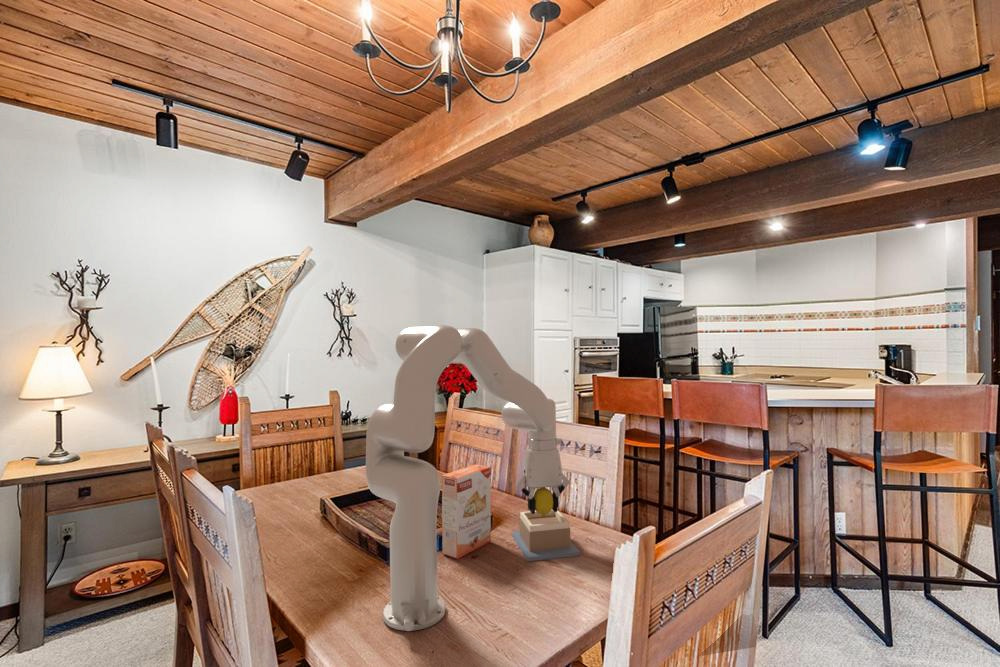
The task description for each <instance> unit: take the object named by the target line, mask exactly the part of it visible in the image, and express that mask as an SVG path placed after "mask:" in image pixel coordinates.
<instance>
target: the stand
mask: <svg viewBox="0 0 1000 667" xmlns="http://www.w3.org/2000/svg"><path fill="white" fill-rule="evenodd" d="M519 516H520V517H519V530H515V531H512V532H511V535H513V536H512V538H513V539H514V541H515V542H516V544H517V546H518V548H519V549H520V551H521V553H522V555H523V557H524V558H525V561H527V562H535V561H542V560H543V561H544V560H551V559H561V558H570V557H578V556H579V557H580V556H581V551H580V550H579V548H578V547H576V545H575V544H574V543H573V542H572V540H571V527H570V522H569V521H568V520H567V519H566V518H565V516H564V515H563V513H561V512H560V511H559V510H558V509H557V512H554V511H553V510H551V511H550V512H549V513H548V514H546V515H545V516H542V515H541V514H539V513H538V512H536V510H535V513H534V514H532V513H531V512H530V510H527V511H520V512H519Z"/></svg>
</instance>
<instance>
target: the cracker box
mask: <svg viewBox="0 0 1000 667" xmlns="http://www.w3.org/2000/svg"><path fill="white" fill-rule="evenodd" d="M491 476H492V475H491V467H489V466H486V465H480V464H473V465H469V466H467V467H463V468H461V469H460V468H459V469H457V470H454V471H451V472H448V473H445V474H442V475H441V496H442V497H441V508H442V510H441V517H442V518H441V519H442V520H441V521H442V523H441V525H442V526H441V527H442V528H441V530H442V531H441V532H442V533H441V534H442V539H441V540H442V542H441V544H442V548H441V549H442V553H441V554H442V555H444V556H448V557H451V558H454V559H456V560H459V559H460V558H462V557H464V556H466V555H468V554H470V553H472V552H473V551H475V550H477V549H479V548H482V547H483V546H485V545H487V544H489V543H490V542H491V541H492V534H491V529H492V528H491V526H492V524H491V523H492V522H491V519H492V518H491V517H492V516H491V512H492V511H491V508H492V505H491V504H492V503H491V494H492V493H491V488H492V487H491V486H492V485H491Z"/></svg>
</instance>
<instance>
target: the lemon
mask: <svg viewBox="0 0 1000 667" xmlns="http://www.w3.org/2000/svg"><path fill="white" fill-rule="evenodd" d="M552 494H553V492H551V489H548V487H545V488H536V489H535V492H534V495H533V498H534V499H535V511H536V512H538V513H539V514H541V515H542V516H545V515H546V514H548V513H549V512H550V511H551V510H552V508H553V496H552Z"/></svg>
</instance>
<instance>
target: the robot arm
mask: <svg viewBox="0 0 1000 667" xmlns="http://www.w3.org/2000/svg"><path fill="white" fill-rule="evenodd" d="M395 350H396V354H397V355H398V357H399V358H400V359H401V360H402V361H403V362H402V363H401V365H400V367H399V368H398V370H397V372H396V373H397V374H396V377H395V380H394V391H393V402H390V403H385V404H382V405H380V406H379V407H377V408H376V409H375V410H374V411H373V413H372V414H371V416H370V417H369V420H368V423H367V427H366V436H365V437H366V438H365V440H366V441H365V442H366V444H365V448H366V449H365V480H366V484H367V487H368V489H369V490H370V493H372V494H373V495H375V496H376V497H379V498H380V499H383V500H386V501H389V502H391V503H394V504H395V509H394V512H393V515H392V518H391V520H390V525H389V569H390V570H389V571H390V574H389V578H390V579H389V580H390V581H389V582H390V583H389V584H390V601H389V602H388V603H387V604H386V605H385V606H384V607H383V612H382V619H383V621H384V623H385V625H387V626H388V627H390V628H391V629H394V630H396V631H397V630H398V631H403V632H405V631H406V632H414V631H419V630H423V629H428V628H430V627H432V626H435V625H436V624H437V623H439V622H440V621H441V620H442V619H443V618H444V616H445V615H446V603H445V601H444V599H443V598H441V596H438V594H439V593H438V590H439V589H438V539H437V538H438V537H437V535H438V534H437V515H438V514H437V512H438V507H439V506H438V505H439V498H440V492H441V488H442V479H441V476H440V473H439V471H438V470H437V469H436V467H435V466H434V465H433V464H432V463H430V462H428V461H425V460H423V459H420V458H415V457H411V456H406V455H405V453H410V454H413V453H415V454H419V453H423V452H425V451H427V450H428V449H429V448H430V447H431V446H432V444H433V442H434V438H435V430H436V429H435V428H436V426H435V425H436V420H435V419H436V418H435V417H436V394H437V392H436V391H437V384H438V381H439V378H440V376H441V375H442V373H443V372H444V370H445V369H446V368H447V366H449V365H450V364H462V365H463V366H464V367H466V368H467V370H468V372H469V373H471V375H472V377H473V378H474V379H475V380H476V382H478V384H479V386H480V387H481V388H482V390H483V391H485V392H486V393H488V394H489V395H492V396H494V397H496V398H498V399H500V400H503V401H505V402H507V403H506V404H505V405H504V406H503V408H502V410H501V421H503V423H504V424H505V426H507V427H508V428H511V429H515V430H520V431H527V432H528V435H527V437H528V441H527V442H528V448H525V450H524V456H523V469H522V476H520V478H519V479H518V480H517V481H516V483H515V488H517V489H518V490H519V491H520V492H522V493H523V495H525V496H526V497H527V509H528V510H527V511H530V512H531V513H532V514H534V513H535V511H536V510H535V499H534V498H533V497H534V493H535V491H536V490H537V489H539V488H551V491H552V496H553V508H552V510H553V511H554V512H557V510H558V508H559V506H560V504H559V502H560V501H559V497H560V496H561V494H562V493H563V492H564V491H565V489H566V488H567V487H568V486H569V485H570V484H571V481H570V480H569V479H568V478H567V477H566V475H565V474H564V473H563V469H562V461H561V455H560V449H559V448H558V445H562V440H561V439H560V438H557V415H556V414H557V413H556V412H557V411H556V407H557V406H556V402H555V400H553V399H551V398H548V397H547V395H546V394H545V393H544V392H543V390H542V389H541V388H540V387H539V386H537V385H536V384H534V383H533V382H532V381H531V380H529V379H528V378H526V377H524V376H523V375H522V374H520V373H519V372H518V371H515V370H513V369H512V368H511V366H510V365H509V363H508V362H507V361H506V359H505V358H504V356H503V355H502V353H501V351H500V350H499V349H498V348H497V346H496V345H495V344H494V341H492V339H491V338H490V337H489V335H488V334H487V333H486V332H485V331H484V330H482V329H480V328H475V327H465V328H464V327H462V328H456V327H453V326H450V325H442V324H440V325H439V324H437V325H436V324H435V325H434V324H432V325H423V326H422V325H421V326H420V325H419V326H409V327H407V328H405V329H403V330H401V332H400V333H398V335H397V337H396V340H395ZM523 484H525V485H526V486H527V488H526V487H525V486H524V485H523Z"/></svg>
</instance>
